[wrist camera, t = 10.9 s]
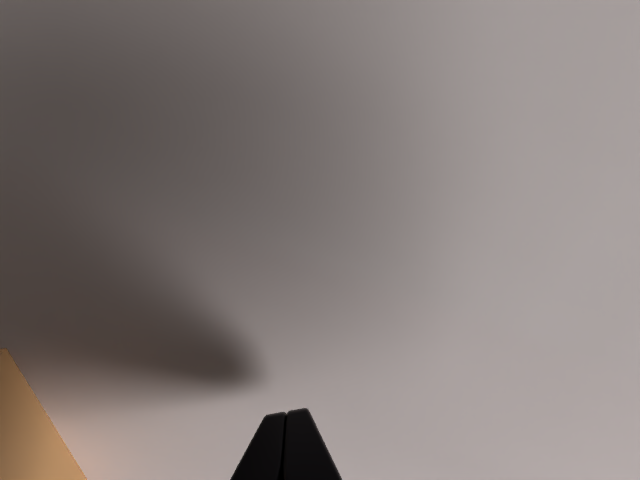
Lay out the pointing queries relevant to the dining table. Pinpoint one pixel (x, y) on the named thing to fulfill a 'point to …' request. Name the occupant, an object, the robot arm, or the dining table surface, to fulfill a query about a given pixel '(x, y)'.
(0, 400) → the orange base grey top
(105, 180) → the dining table surface
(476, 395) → the dining table surface
